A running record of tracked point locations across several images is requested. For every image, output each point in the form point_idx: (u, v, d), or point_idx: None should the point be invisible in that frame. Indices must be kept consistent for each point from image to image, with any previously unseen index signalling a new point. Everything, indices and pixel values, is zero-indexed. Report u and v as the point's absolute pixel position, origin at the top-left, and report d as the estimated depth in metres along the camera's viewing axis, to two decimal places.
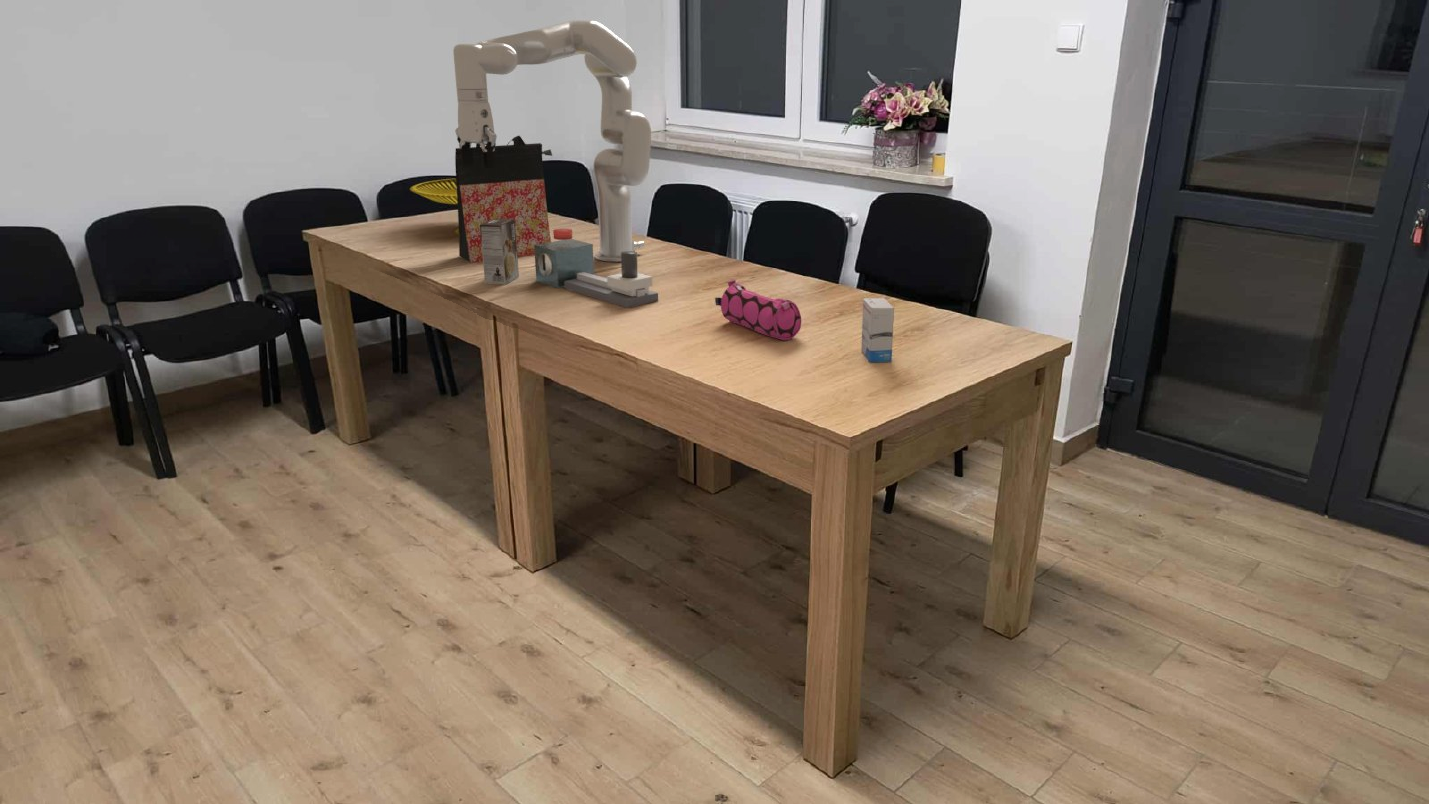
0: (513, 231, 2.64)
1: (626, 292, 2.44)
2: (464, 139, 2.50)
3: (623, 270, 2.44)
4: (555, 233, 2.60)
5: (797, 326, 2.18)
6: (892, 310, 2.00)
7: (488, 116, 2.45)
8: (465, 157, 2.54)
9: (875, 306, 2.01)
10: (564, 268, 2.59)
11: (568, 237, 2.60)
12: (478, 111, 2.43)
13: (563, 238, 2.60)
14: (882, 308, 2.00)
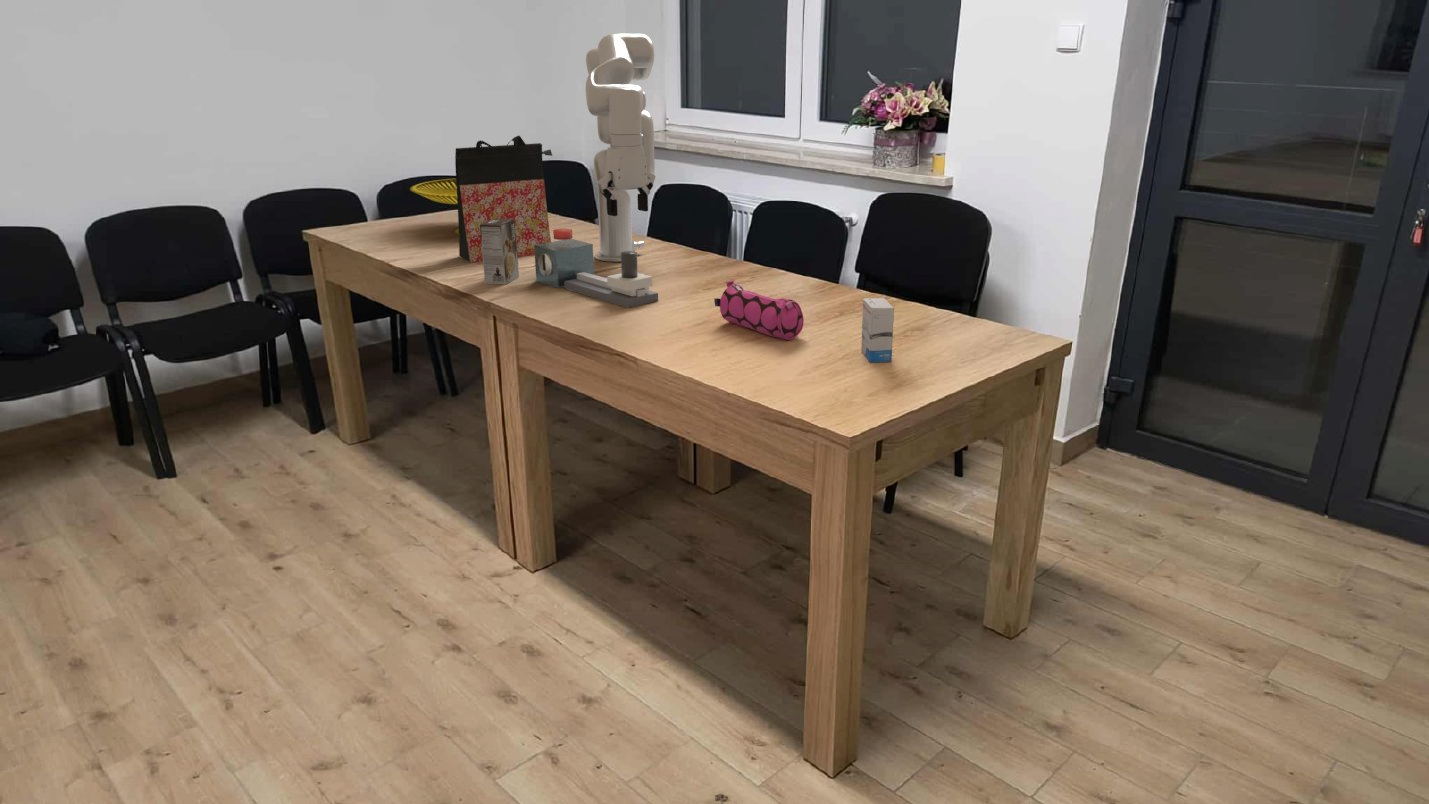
0: (513, 231, 2.64)
1: (626, 292, 2.44)
2: (625, 187, 2.35)
3: (623, 270, 2.44)
4: (555, 233, 2.60)
5: (800, 325, 2.18)
6: (892, 310, 2.00)
7: None
8: None
9: (875, 306, 2.01)
10: (564, 268, 2.59)
11: (568, 237, 2.60)
12: None
13: (563, 238, 2.60)
14: (882, 308, 2.00)
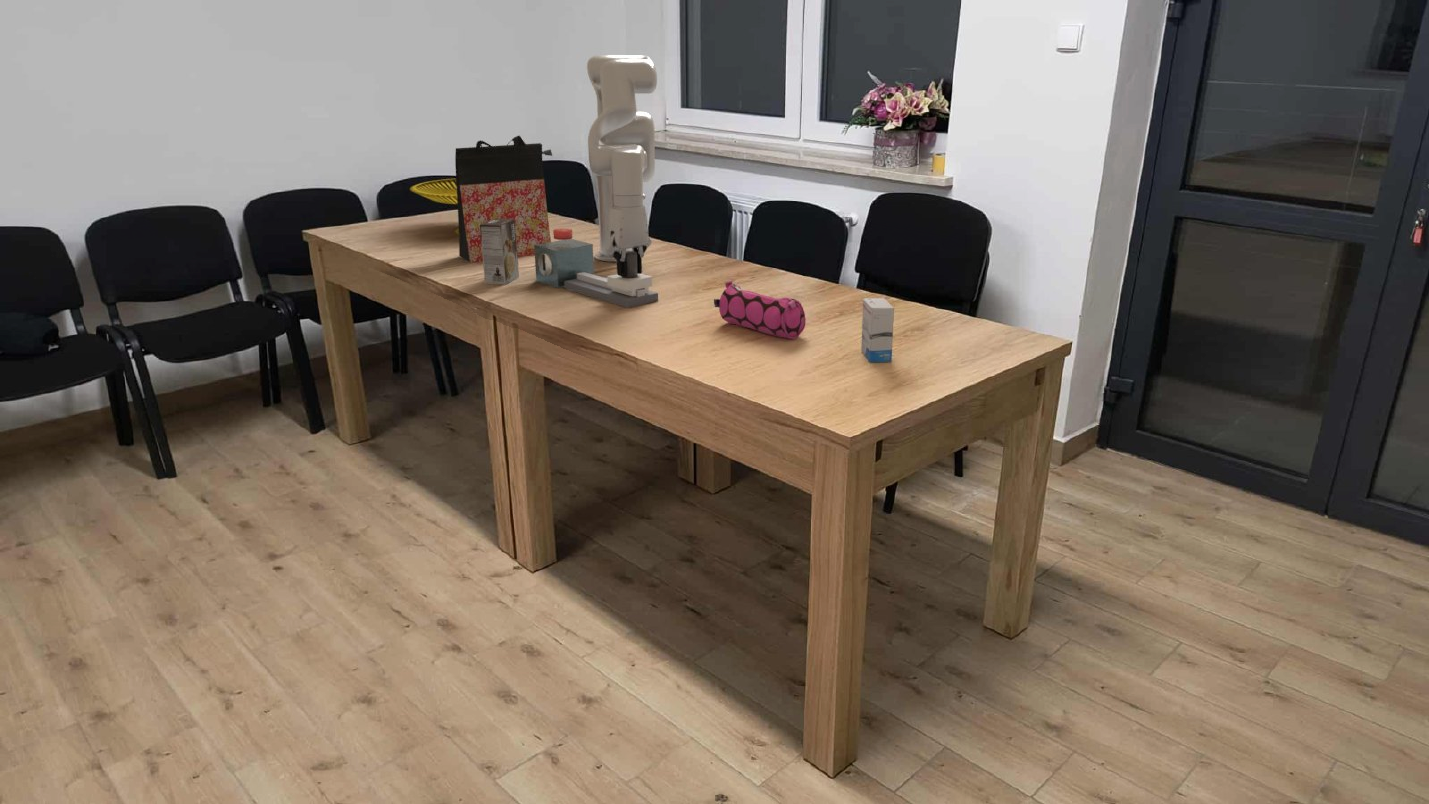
0: (513, 231, 2.64)
1: (626, 292, 2.44)
2: (627, 246, 2.40)
3: None
4: (555, 233, 2.60)
5: (802, 324, 2.19)
6: (892, 310, 2.00)
7: None
8: None
9: (875, 306, 2.01)
10: (564, 268, 2.59)
11: (568, 237, 2.60)
12: None
13: (563, 238, 2.60)
14: (882, 308, 2.00)
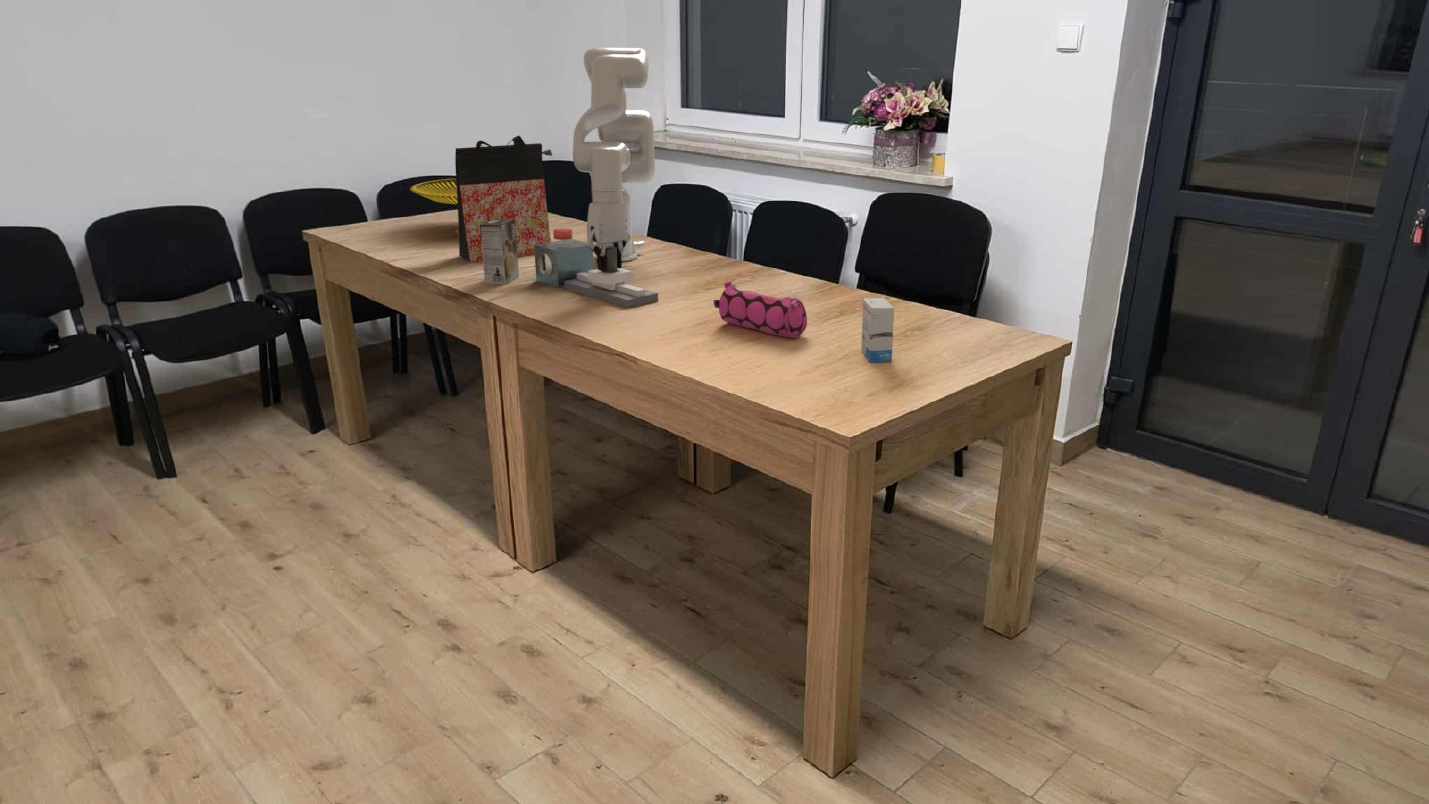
0: (513, 231, 2.64)
1: (606, 286, 2.50)
2: (607, 241, 2.46)
3: None
4: (555, 233, 2.60)
5: (804, 323, 2.20)
6: (892, 310, 2.00)
7: None
8: None
9: (875, 306, 2.01)
10: (564, 268, 2.59)
11: (568, 237, 2.60)
12: None
13: (563, 238, 2.60)
14: (882, 308, 2.00)
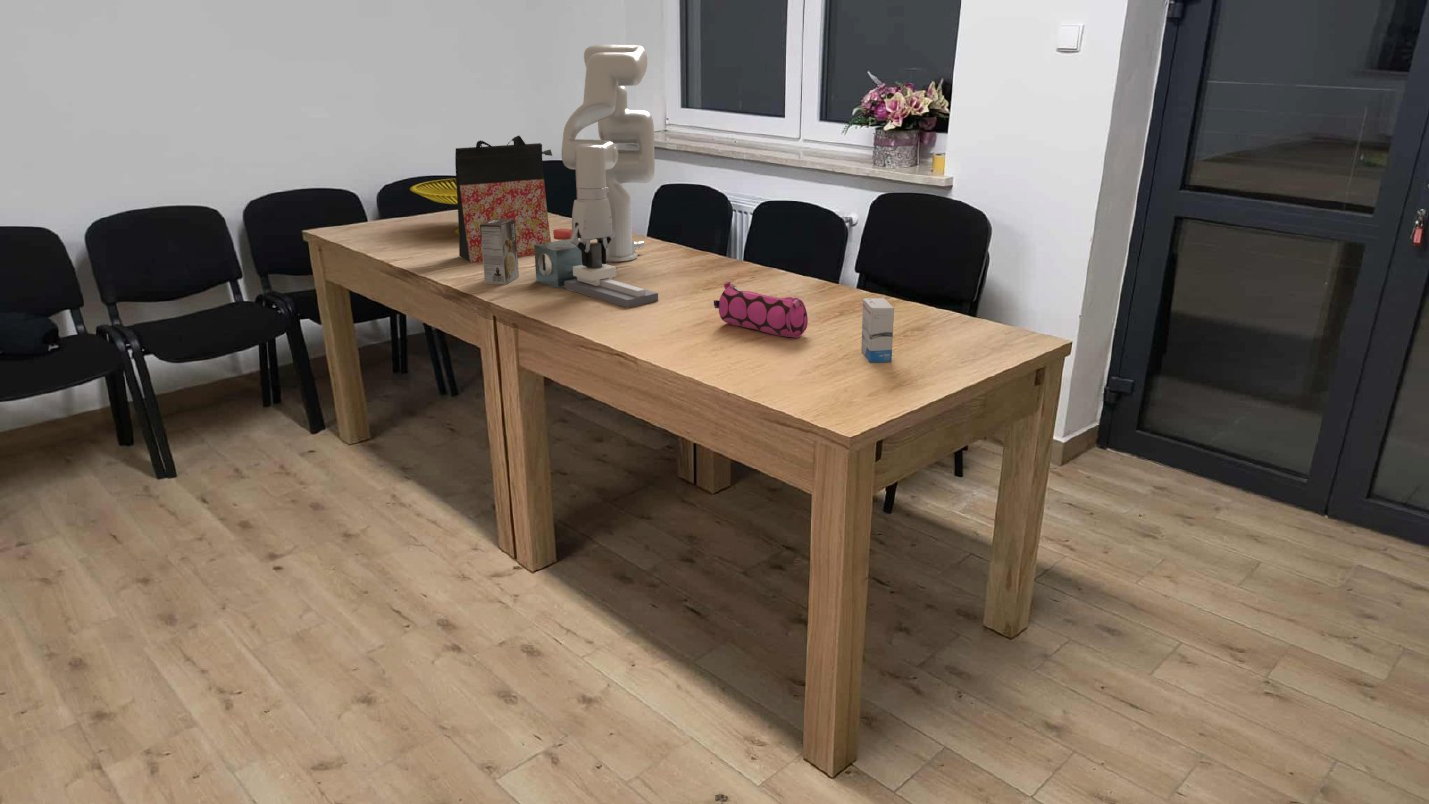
0: (513, 231, 2.64)
1: (591, 282, 2.54)
2: (591, 237, 2.50)
3: None
4: (555, 233, 2.60)
5: (805, 323, 2.20)
6: (892, 310, 2.00)
7: None
8: None
9: (875, 306, 2.01)
10: (564, 268, 2.59)
11: (568, 237, 2.60)
12: None
13: (563, 238, 2.60)
14: (882, 308, 2.00)
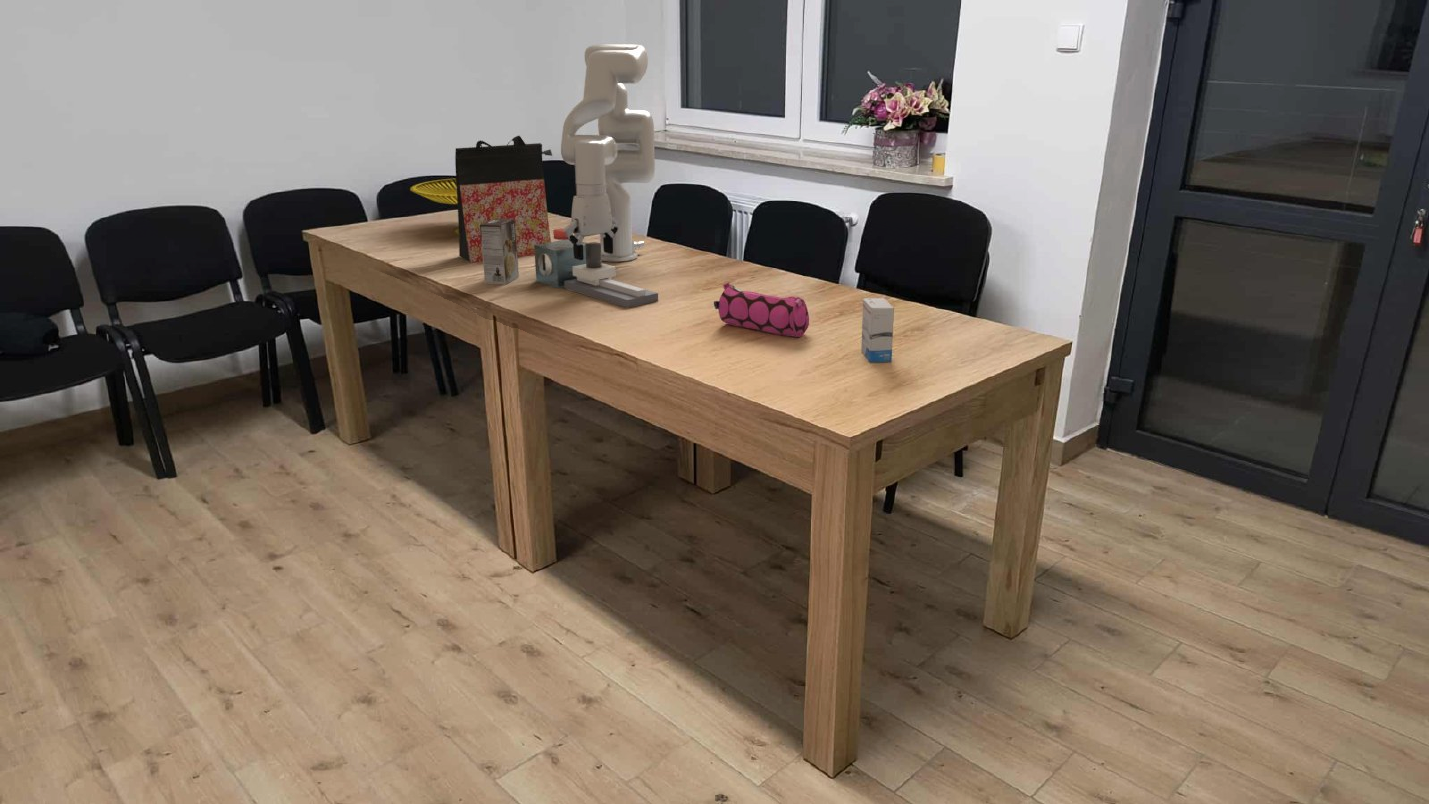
0: (513, 231, 2.64)
1: (590, 282, 2.54)
2: (591, 233, 2.50)
3: (587, 260, 2.54)
4: (555, 233, 2.60)
5: (807, 322, 2.21)
6: (892, 310, 2.00)
7: None
8: None
9: (875, 306, 2.01)
10: (564, 268, 2.59)
11: None
12: None
13: (563, 238, 2.60)
14: (882, 308, 2.00)
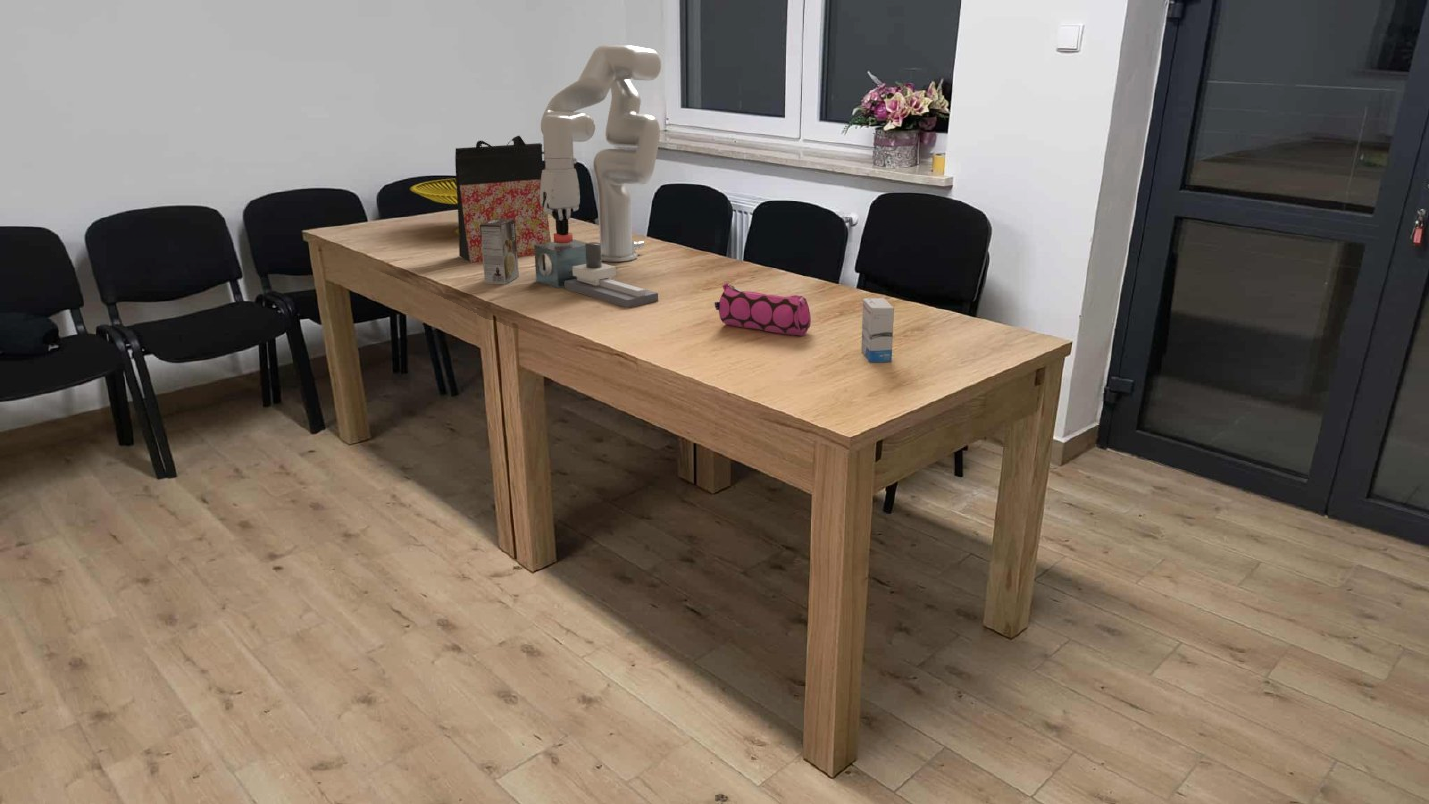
0: (513, 231, 2.64)
1: (590, 282, 2.54)
2: (559, 206, 2.56)
3: (587, 260, 2.54)
4: (555, 237, 2.60)
5: (809, 320, 2.22)
6: (892, 310, 2.00)
7: None
8: None
9: (875, 306, 2.01)
10: (564, 268, 2.59)
11: (568, 241, 2.61)
12: None
13: (564, 242, 2.60)
14: (882, 308, 2.00)
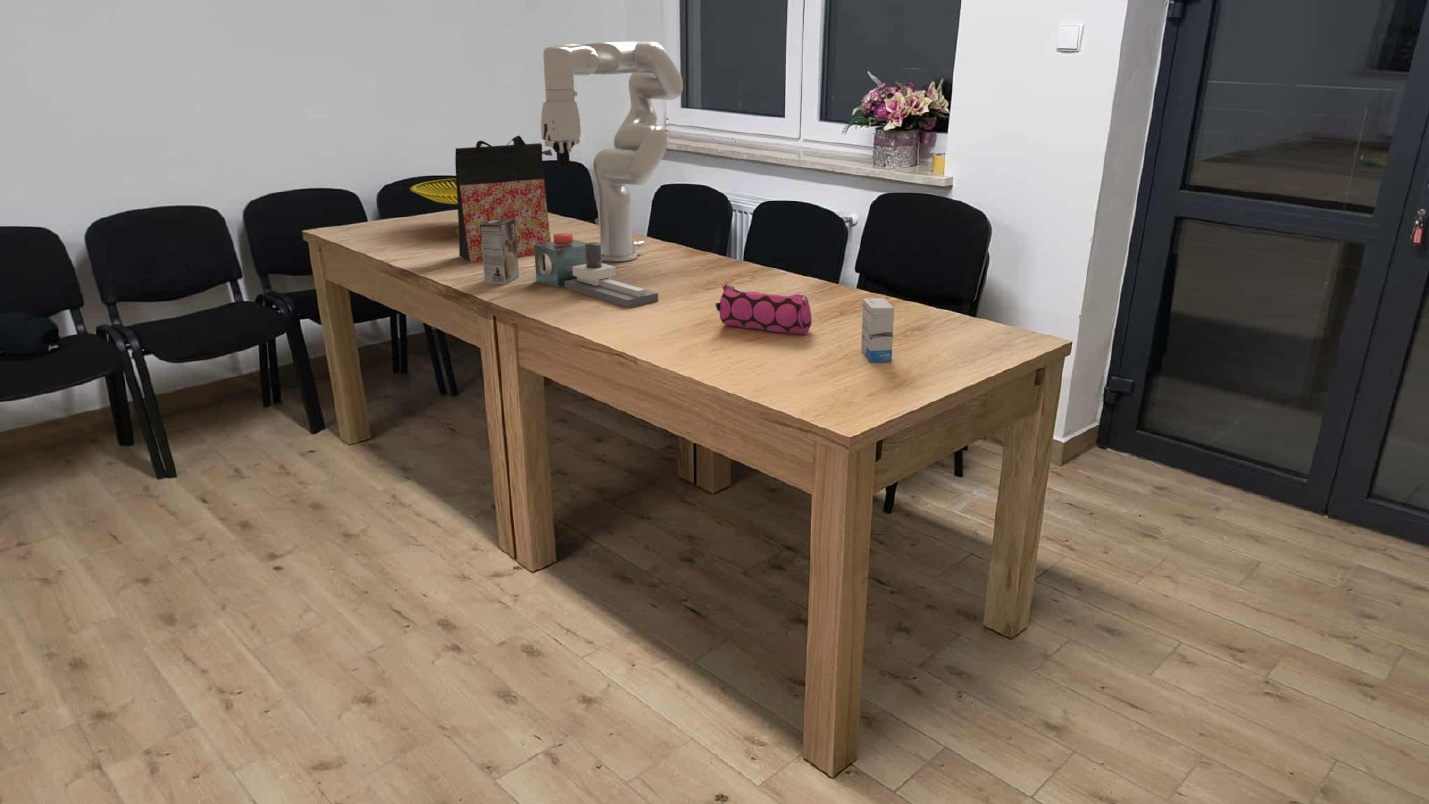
0: (513, 231, 2.64)
1: (590, 282, 2.54)
2: (560, 139, 2.59)
3: (587, 260, 2.54)
4: (555, 238, 2.61)
5: None
6: (892, 310, 2.00)
7: None
8: None
9: (875, 306, 2.01)
10: (564, 268, 2.59)
11: (568, 242, 2.61)
12: None
13: (564, 243, 2.60)
14: (882, 308, 2.00)
